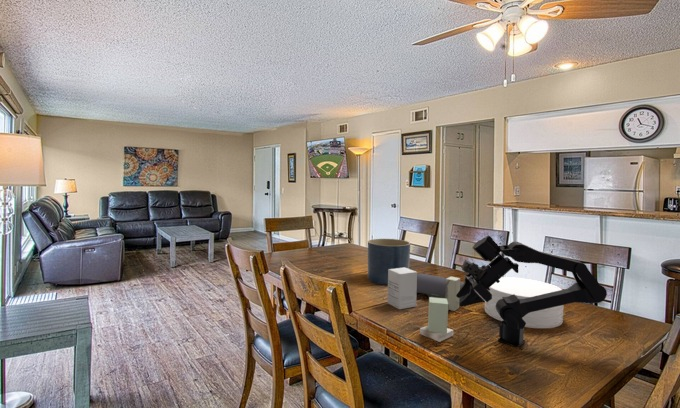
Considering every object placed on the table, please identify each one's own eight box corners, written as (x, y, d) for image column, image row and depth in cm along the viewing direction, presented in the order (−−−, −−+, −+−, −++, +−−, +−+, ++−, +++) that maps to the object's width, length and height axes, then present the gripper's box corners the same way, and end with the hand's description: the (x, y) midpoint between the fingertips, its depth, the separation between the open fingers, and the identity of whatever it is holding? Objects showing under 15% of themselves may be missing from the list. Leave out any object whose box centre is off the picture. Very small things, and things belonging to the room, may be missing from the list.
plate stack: (473, 314, 148) (474, 286, 147) (499, 298, 168) (500, 273, 167) (552, 335, 129) (553, 303, 128) (570, 314, 149) (571, 286, 148)
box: (449, 305, 157) (450, 276, 156) (459, 308, 154) (460, 277, 153) (444, 309, 153) (445, 278, 152) (454, 311, 150) (455, 280, 149)
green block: (445, 326, 130) (446, 298, 129) (446, 333, 124) (448, 304, 123) (427, 324, 131) (429, 297, 130) (428, 331, 125) (429, 302, 124)
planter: (364, 284, 187) (365, 244, 185) (368, 273, 208) (369, 237, 207) (409, 287, 183) (410, 246, 182) (408, 275, 205) (409, 239, 203)
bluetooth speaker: (467, 302, 162) (468, 279, 162) (459, 307, 155) (460, 284, 155) (421, 291, 177) (421, 270, 176) (411, 295, 170) (412, 274, 169)
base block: (453, 337, 127) (453, 330, 127) (439, 343, 122) (439, 336, 122) (433, 329, 133) (434, 322, 133) (419, 335, 128) (420, 328, 128)
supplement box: (403, 300, 163) (405, 266, 162) (416, 306, 155) (418, 271, 154) (386, 303, 159) (387, 268, 158) (398, 309, 151) (400, 273, 150)
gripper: (472, 247, 132) (439, 276, 135) (482, 259, 114) (444, 291, 117) (494, 271, 131) (461, 299, 134) (508, 285, 113) (469, 318, 116)
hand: (458, 301), depth 125 cm, fingers open, 9 cm apart
